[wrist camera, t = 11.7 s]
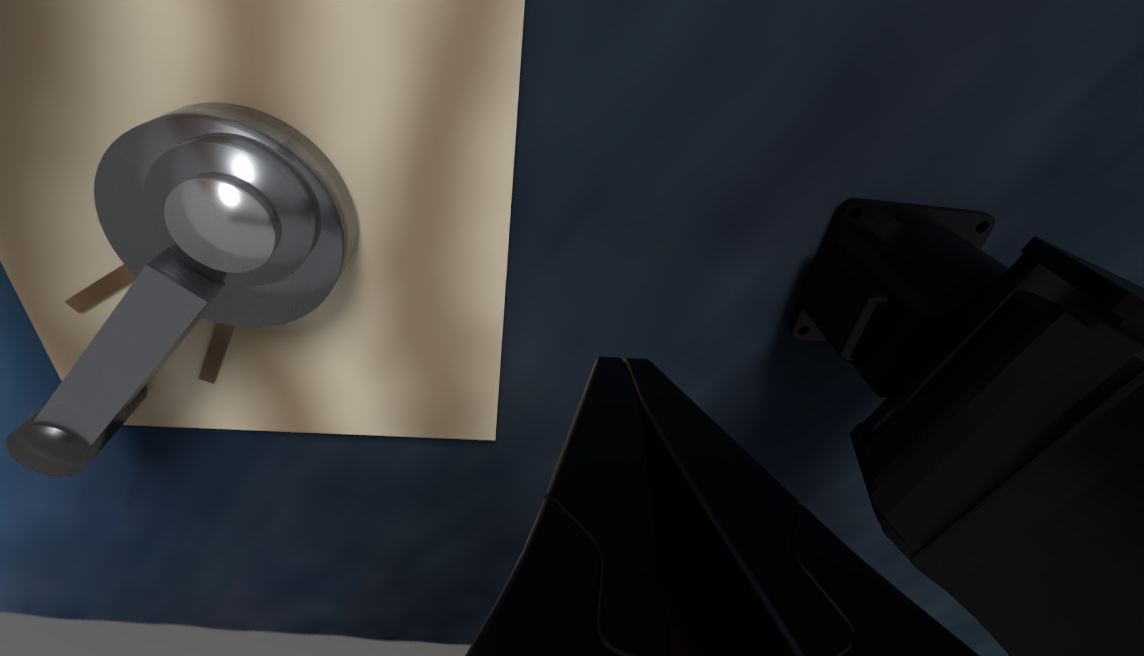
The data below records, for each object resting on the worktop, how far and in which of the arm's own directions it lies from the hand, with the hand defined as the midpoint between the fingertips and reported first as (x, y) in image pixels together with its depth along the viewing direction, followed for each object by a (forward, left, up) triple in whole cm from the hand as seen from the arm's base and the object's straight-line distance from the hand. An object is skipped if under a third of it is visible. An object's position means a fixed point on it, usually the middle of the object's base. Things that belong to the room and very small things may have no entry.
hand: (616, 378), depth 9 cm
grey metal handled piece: (+13, +6, -12) cm, 19 cm away
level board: (+11, +4, -13) cm, 17 cm away
